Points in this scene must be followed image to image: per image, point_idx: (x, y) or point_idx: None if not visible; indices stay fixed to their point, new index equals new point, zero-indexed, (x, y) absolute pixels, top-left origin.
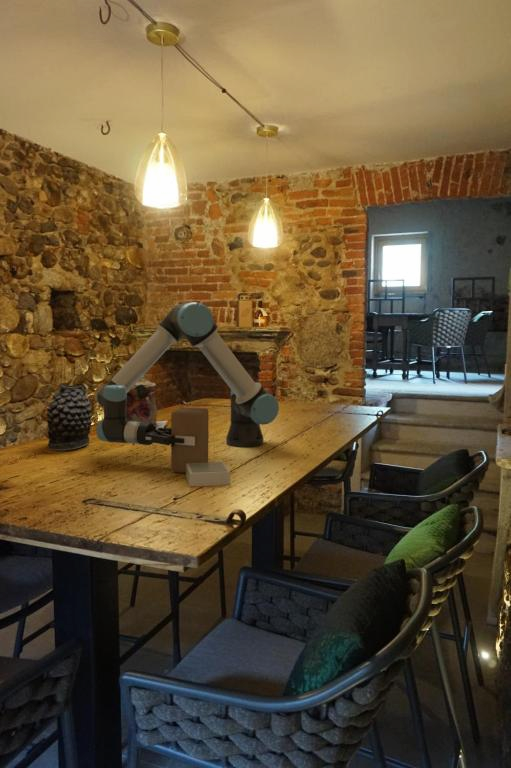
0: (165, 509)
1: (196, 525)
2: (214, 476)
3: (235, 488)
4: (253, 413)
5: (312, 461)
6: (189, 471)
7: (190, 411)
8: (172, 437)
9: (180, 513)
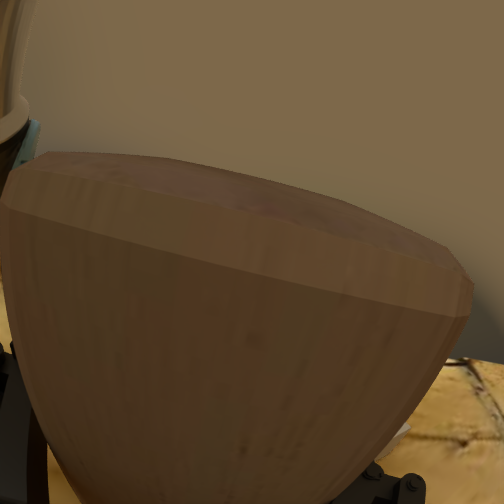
0: (498, 431)
1: (494, 384)
2: None
3: None
4: None
5: None
6: (395, 435)
7: (349, 204)
8: (378, 471)
9: (491, 409)
